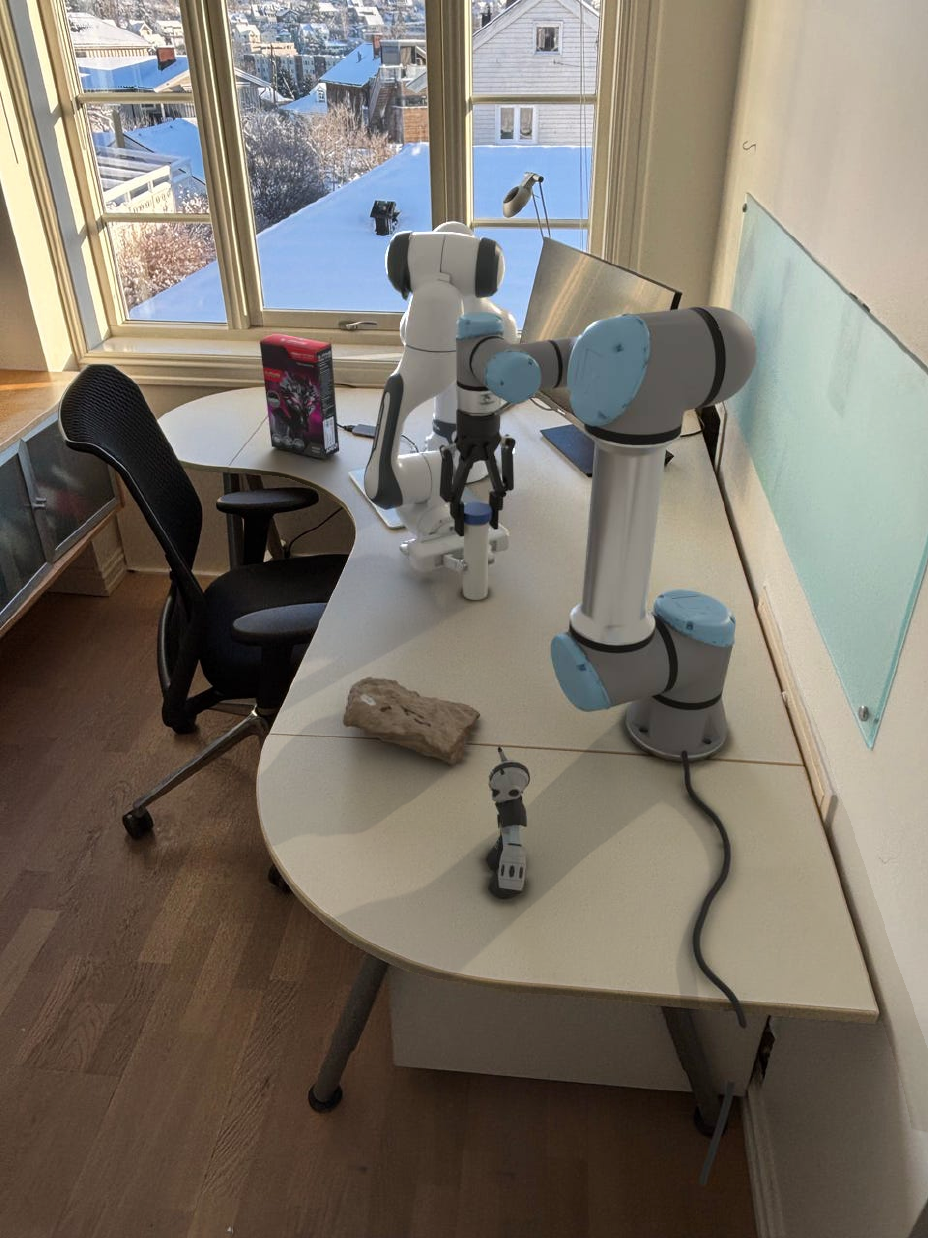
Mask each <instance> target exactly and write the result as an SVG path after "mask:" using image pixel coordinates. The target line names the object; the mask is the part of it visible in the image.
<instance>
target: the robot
mask: <svg viewBox="0 0 928 1238" xmlns="http://www.w3.org/2000/svg"><path fill="white" fill-rule="evenodd" d="M497 752H498V755H499V758H500V762H499V763H498V764H497V765H496V766H494V767H493V769H491V772H490V773H489V775H488V788H489V790H490V791H491V800H492V801H493V802H494V806H495V808H496V810H497V812H498V814H496V820H497V828H498V829H499V836H498V838H497V840H496V842H495V844H494V845H493V846H492V848H491V850H490V851H489V852H488V854H487V855H486V857H485V861H486V863H487V865H488V867H489V868H490V869H491V870H493V871H495V872H493V874H492V876H491V878H490V880H489V883H488V886H487V890H488V891H490V893H491V894H492V895H493V896H494V897H495V898H500V899H509V898H512V897H514V896H516V895H518V894H520V893H522V891H523V888H524V884H525V878H526V877H525V876H526V869H527V856H526V851H525V847H524V846H523V845H522V844H521V840H520V826H521V827H523V828H527V827H528V820H527V810H526V807H525V804H524V803H523V796H522V794H524V791H525V789H526V788H528V786H529V785H530V781H531V775H530V771H529V769H528V767H527V766H526V765H524V764H522V763H521V762H520V761H517V760H515V759H507V756H506V755H505V753H504V751H503V749H502V747H501V746H498V747H497Z"/></svg>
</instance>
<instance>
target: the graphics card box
mask: <svg viewBox="0 0 928 1238" xmlns="http://www.w3.org/2000/svg"><path fill="white" fill-rule="evenodd" d="M259 348H260V356H261V357H260V358H261V364H262V365H261V366H262V373H263V382H264V391H265V398H266V399H265V400H266V409H267V416H268V417H267V418H268V425H269V434H270V444H271V448H272V447H273V448H276V449H280V450H285V451H289V452H293V453H298V454H302V455H306V456H309V457H313V458H314V457H315V458H318V459H322V460H326V459H328V458H329V457H331V456H333V455H334V454H336V453H338V452H339V451H340V443H339V441H340V440H339V431H338V430H339V429H338V414H337V403H336V390H335V389H336V388H335V376H334V364H333V363H334V362H333V350H332V349H333V345H332V343H331V342H324V341H318V340H314V339H313V340H312V339H307V338H302V337H297V336H292V335H286V334H281V333H272V334H269V335H266V336H265V337H264V338H262V339H261V340H259Z"/></svg>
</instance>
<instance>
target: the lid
mask: <svg viewBox="0 0 928 1238" xmlns="http://www.w3.org/2000/svg"><path fill="white" fill-rule="evenodd" d="M491 518H492V508H491V506H490V505H489V503H486V502H481V501H471V502H466V503H464V522H466V523H468V524H472V525H482V524H486V523H488V522H489V521H490V520H491Z"/></svg>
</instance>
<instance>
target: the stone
mask: <svg viewBox="0 0 928 1238" xmlns="http://www.w3.org/2000/svg"><path fill="white" fill-rule="evenodd" d="M480 717H481V713H480V712H479V711H478V710H477V709H475V708H474V707H472V706H470V705H469V704H466V703H462V702H455V701H449V700H443V699H439V698H438V697H427V696H422V695H420V694H419V693H418V692H417V691H416V690H408V688H406V687H405V686H403V685H402V684H400V683H399V682H398V681H397V680H396V679H388V678H384V677H382V678H381V677H380V678H379V677H373V676H367V677H365V678H362V679H360V680H359V681H356V682H355V683H354V684H353V685H351V687H350V689H349V692H348V694H347V704H346V706H345V713H344V715H343V719H342V724H343V726H345V727H346V728H348V727H353V728H354V727H355V728H357V729H360V730H362V731H363V732H364V733H365V735H367V736H368V737H373V738H379V739H380V740H381V741H384V742H388V743H394V744H396V745H399V746H401V747H402V748H407V749H411V750H413V751H415V752H417V753H419V754H421V755H423V756H425V757H431V758H432V757H434V758H437V759H440V760H441V761H443V762H444V763H446V764H449V765H451V766H452V765H455V764H457V763H460V761H461V759H462V758H463V755H464V753H465V751H466V748H467V741H468V739H469V737H470V734H471V733H472V731H473V728H474V727H475V725H476V722H477V720H478V719H479V718H480Z"/></svg>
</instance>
